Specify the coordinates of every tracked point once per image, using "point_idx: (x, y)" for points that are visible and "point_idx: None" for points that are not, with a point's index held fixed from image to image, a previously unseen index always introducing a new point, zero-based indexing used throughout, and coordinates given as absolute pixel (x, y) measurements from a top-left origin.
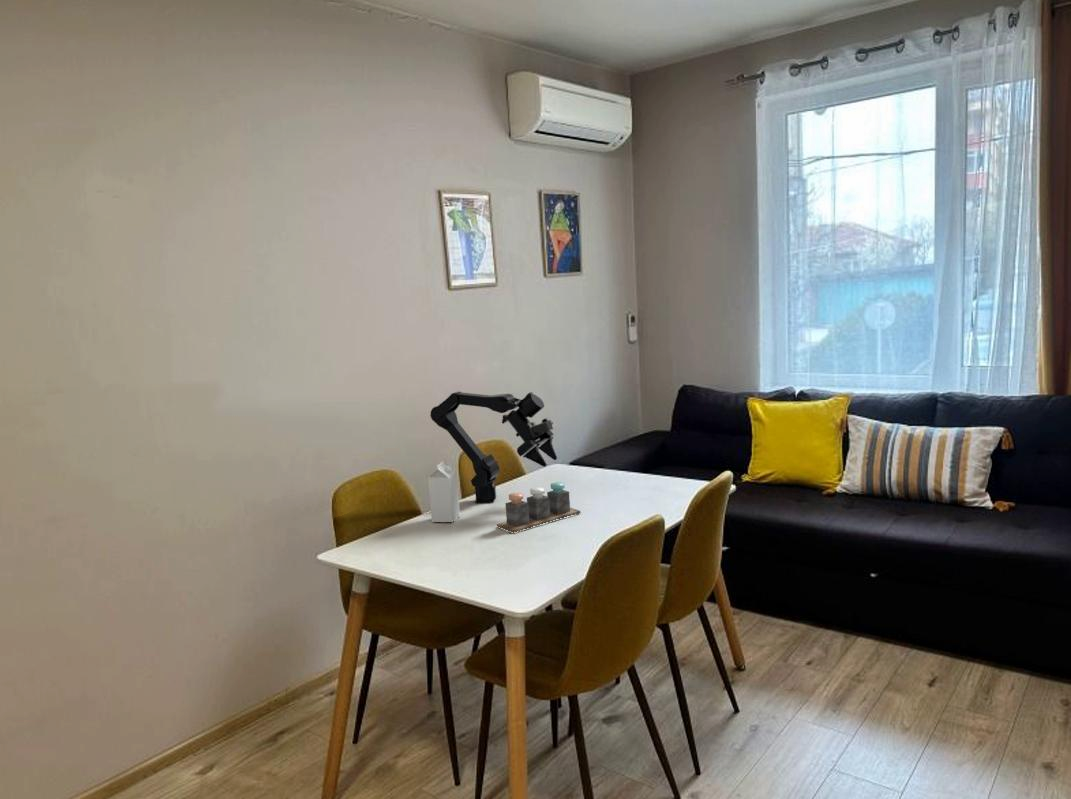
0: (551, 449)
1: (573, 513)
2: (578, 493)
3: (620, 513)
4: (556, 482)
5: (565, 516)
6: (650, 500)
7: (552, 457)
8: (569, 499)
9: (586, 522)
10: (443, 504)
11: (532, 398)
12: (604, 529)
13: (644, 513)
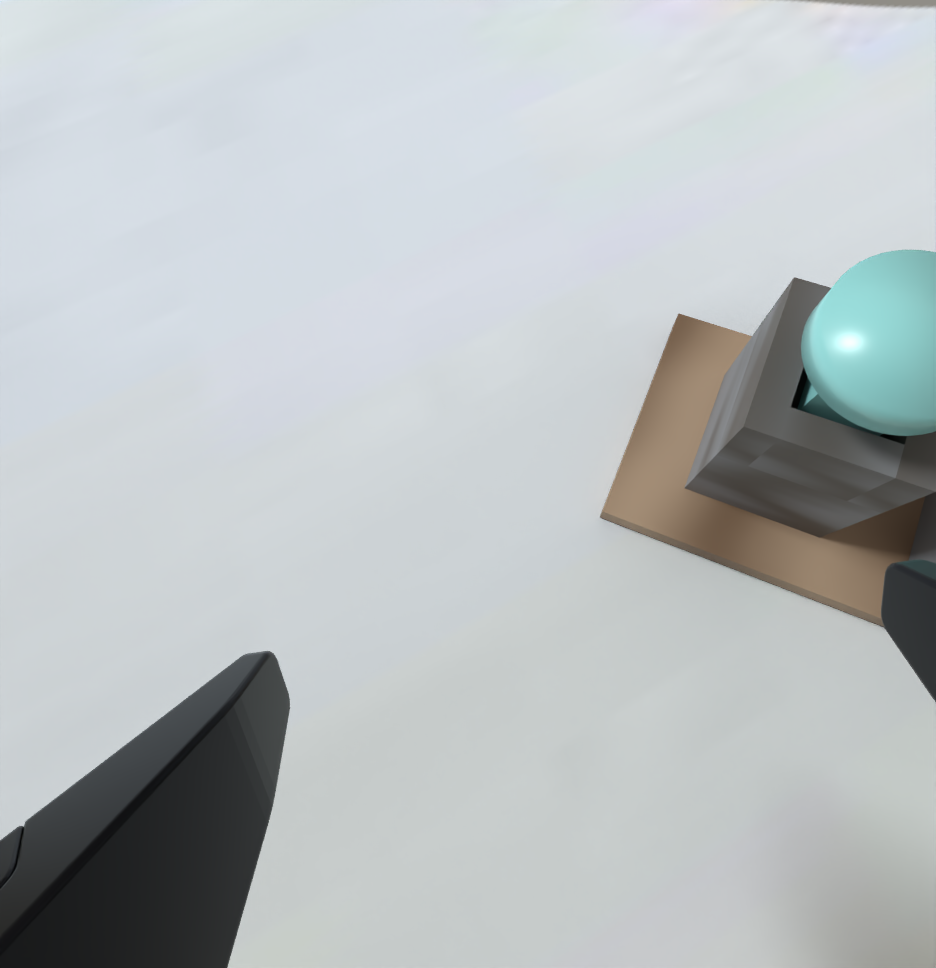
0: (112, 865)
1: (744, 337)
2: (178, 603)
3: (552, 114)
4: (864, 378)
5: None
6: (243, 82)
7: (266, 769)
8: (762, 322)
9: (821, 205)
10: None
11: None
12: (883, 57)
13: (500, 8)
